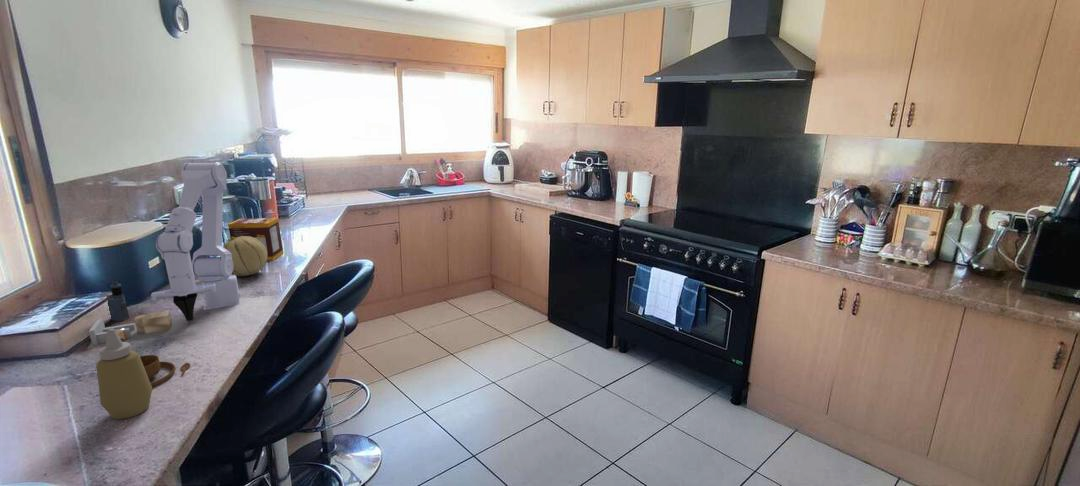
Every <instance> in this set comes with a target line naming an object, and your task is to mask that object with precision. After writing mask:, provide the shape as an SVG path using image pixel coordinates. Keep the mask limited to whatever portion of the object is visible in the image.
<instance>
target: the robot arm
mask: <svg viewBox="0 0 1080 486" xmlns="http://www.w3.org/2000/svg"><path fill="white" fill-rule="evenodd" d="M227 175H228V173H227V171H226V169H225V166H224V165H223V164H222V163H221V162H219V161H215V162H185V163H183V165H182V167H181V172H180V176H181V180H182V182H183V187H182V192H181V195H180V200H179V203H178V207H174V208H173V209H172V211H171V213H170V215H169V218H168V221H167V224H166V225H165V226H166V227H165V230H164V231H163V232H162V233H160V234H159V235H158V236H157V238H156V244H155V248H156V250H157V251H158V253H159V254H160V256H161V259H162V260H164V263H165V267H166V273H167V277H168V281H169V286H170V289H164V290H160V291H154V292H152V293H151V295H150V297H151V301H152V302H157V301H159V300H166V299H167V300H168V299H173V301H172V302H173V304H174V305H175V306H176V307H177V308H178V309H179V310H180V311H181V313H182V314H183V315H184V316H183V317H185V318H186V320H187V321H189V322H191V321H194V311H195V304H196V300H197V297H198V295H200V294H201V295H202V294H203V300H204V304H203V307H202V310H203V311H206V310H211V309H218V308H223V307H224V308H225V307H231V306H238V305H239V304H240V299H241V292H240V291H239V284H238V283H239V282H238V278H237V275H234V274H231V273H232V272H233V268H234V265H233V261H232V254H231V253H230V252H229V251H228V250H226V249H225V248H223V214H224V213H223V212H224V211H223V204H224V203H223V202H224V201H223V200H224V198H223V197H224V194H223V193H225V191H227V177H228V176H227ZM201 195H202V218H201V219H202V220H201V221H202V223H201V226H202V229H201V247H200V248H198V249H196V251H194V252H193V255H192V256H191V252H190V251H191V250H192V248H193V246H194V239H193V236H194V234H193V232H192V231H193V228H194V225H195V222H196V219H197V213H196V212H195V211H194V210H195V208H196V206H197V203H198V201H199V199H200V197H201ZM191 257H192V258H191ZM196 279H197V281H200V284H196V283H197V282H196Z"/></svg>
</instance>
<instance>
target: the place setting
mask: <svg viewBox="0 0 1080 486" xmlns="http://www.w3.org/2000/svg"><path fill="white" fill-rule="evenodd" d="M120 339H121V341H122V342H125V340H124V339H123V338H120ZM139 356H140V355H139ZM140 358H141V361H142V363H143V366H144V368H145V371H146V373H147V376H148V379H149V381H151V380H153V379H154V378H155V376H157V375H158V374H159V373H160V370H161V369H162V368H163V369H167V370H169V371H170V372H169V373H167V374H166V375H165V376H163V377H162V378H160V379H157V380H154V381H152V382H150V384H151V386H152V388H154V387H156V386H158V385H161V384H163V383H165V382H166V381H168V380H169V379H171V378H172V376H173V375H174V374H175V371H176V366H175V364H174V363H172V362H169V361H160V357H159V356H158V355H154V354H148V355H146V354H145V355H142V356H140ZM190 368H191V363H189V362H185V363H184V364H182V365H181V366H180V371H182V372H181V375H180V376H179V377H180V378H182V377H184V375H185V373H186V371H188V370H189V369H190Z"/></svg>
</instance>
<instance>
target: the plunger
mask: <svg viewBox="0 0 1080 486" xmlns="http://www.w3.org/2000/svg"><path fill="white" fill-rule="evenodd" d="M115 331H116V333H117V334H118V336H119V338H123V339H124V340H126V333H125V328H118V329H116V330H115Z"/></svg>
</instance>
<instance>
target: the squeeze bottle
mask: <svg viewBox="0 0 1080 486" xmlns="http://www.w3.org/2000/svg"><path fill="white" fill-rule="evenodd" d="M99 356H100V359H99V360H98V361H97V362H96V374H97V384H98V391H99V393H98V394H99V401H100V405H101V406H102V407H103V409H104V410H105V411H106V412H107V413H108V415H110V417H111V418H113V419H115V420H123V419H128V418H132V417H135V416H138V415H140V414H142V413H143V412H145V411H146V410H148V408H149V407H150V404H151V397H152V394H153V393H152V392H153V387H152V386H151V384H150V383H151V382H150V381H151V380H149V379H148V376H147V373H146V371H145V368H144V366H143V363H142V361H141V358H140V354H139V352H136V351H134V350H132V345H131V342H122V341H121V339H120V338H119V336H118V334H117V333H116V331H115V329H109V330H107V333H106V346H102V347H101V348H100V349H99Z"/></svg>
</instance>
